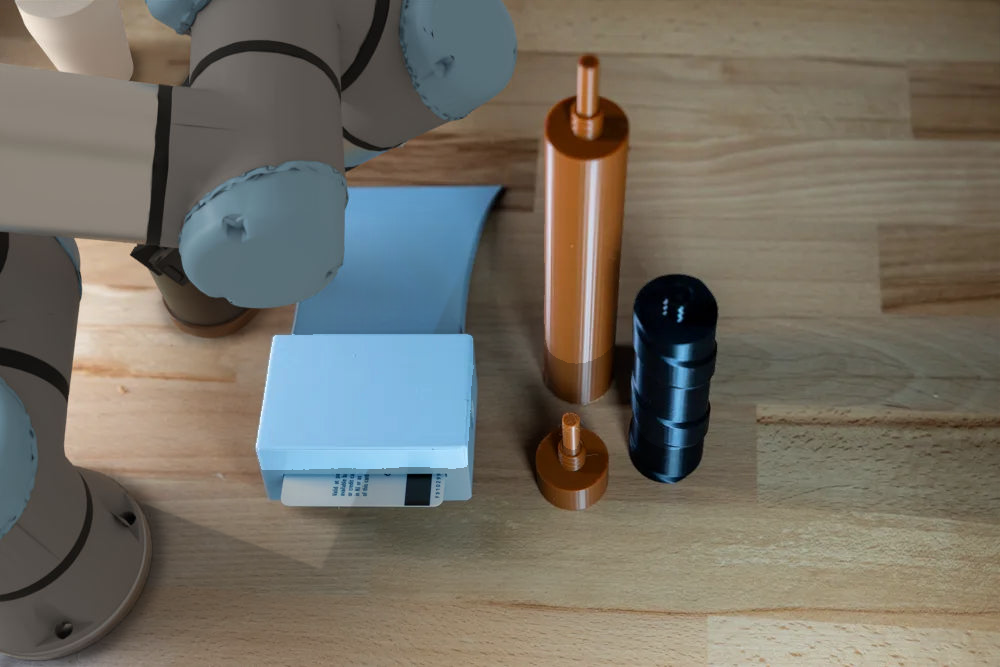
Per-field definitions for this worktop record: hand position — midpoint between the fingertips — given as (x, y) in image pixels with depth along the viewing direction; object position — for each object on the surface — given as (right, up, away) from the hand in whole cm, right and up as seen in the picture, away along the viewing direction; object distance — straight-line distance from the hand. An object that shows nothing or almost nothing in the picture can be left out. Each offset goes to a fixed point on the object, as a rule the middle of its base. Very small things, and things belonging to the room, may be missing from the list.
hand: (189, 194), depth 92 cm
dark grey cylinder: (-1, -7, +14) cm, 16 cm away
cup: (-17, +16, +28) cm, 36 cm away
